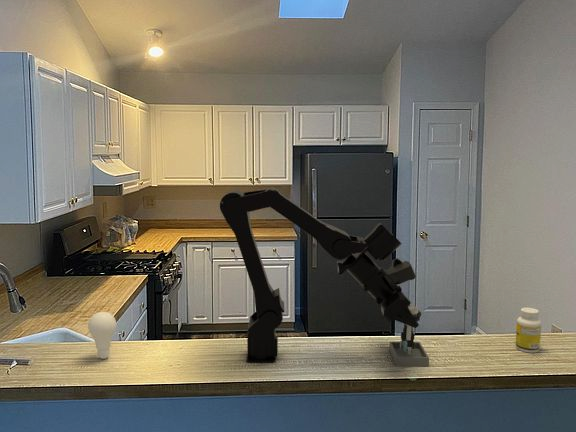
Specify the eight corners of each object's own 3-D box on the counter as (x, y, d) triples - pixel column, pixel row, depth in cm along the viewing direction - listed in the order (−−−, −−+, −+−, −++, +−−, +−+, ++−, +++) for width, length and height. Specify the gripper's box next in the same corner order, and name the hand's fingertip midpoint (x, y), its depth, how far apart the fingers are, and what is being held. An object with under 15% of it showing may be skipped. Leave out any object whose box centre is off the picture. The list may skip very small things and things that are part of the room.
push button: (421, 357, 122) (424, 315, 120) (397, 355, 122) (399, 314, 120) (416, 344, 128) (419, 304, 126) (393, 343, 128) (396, 303, 126)
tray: (395, 365, 121) (396, 357, 121) (389, 349, 130) (389, 341, 130) (428, 366, 121) (429, 357, 121) (419, 349, 130) (419, 342, 130)
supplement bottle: (518, 343, 135) (520, 305, 133) (541, 348, 132) (544, 309, 130) (512, 349, 130) (515, 310, 129) (537, 355, 127) (540, 315, 126)
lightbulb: (123, 356, 125) (121, 310, 124) (104, 366, 120) (102, 318, 118) (103, 351, 128) (101, 306, 126) (83, 361, 123) (81, 314, 121)
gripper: (402, 259, 113) (452, 312, 114) (388, 242, 131) (431, 287, 132) (363, 295, 114) (413, 346, 115) (354, 273, 132) (397, 317, 134)
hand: (414, 322), depth 124 cm, fingers closed on push button, 5 cm apart
